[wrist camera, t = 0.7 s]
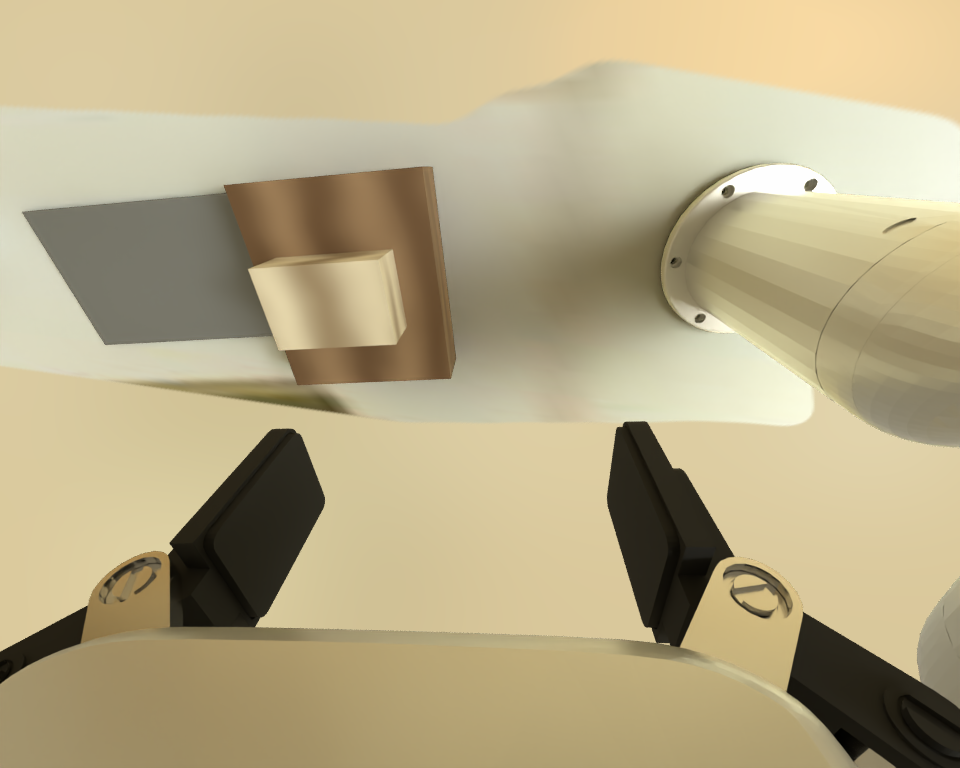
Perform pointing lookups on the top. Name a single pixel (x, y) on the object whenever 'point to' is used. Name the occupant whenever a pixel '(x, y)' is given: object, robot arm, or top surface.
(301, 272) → the beige rectangular block
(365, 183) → the step
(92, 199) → the top surface
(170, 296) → the mat
